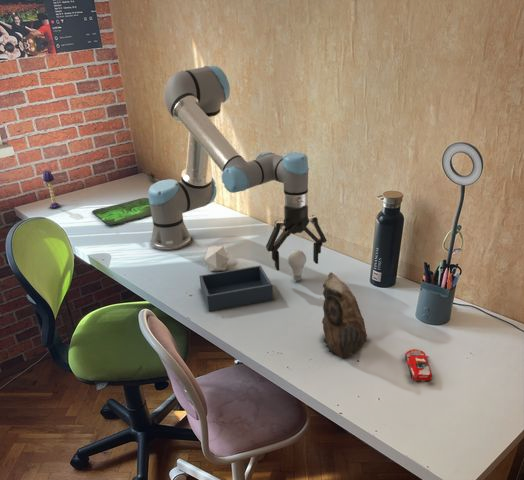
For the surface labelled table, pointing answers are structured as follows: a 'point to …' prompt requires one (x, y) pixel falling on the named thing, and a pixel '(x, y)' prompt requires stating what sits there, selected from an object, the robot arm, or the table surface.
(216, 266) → the die
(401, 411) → the table surface
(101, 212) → the mouse mat
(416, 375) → the race car
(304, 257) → the lightbulb
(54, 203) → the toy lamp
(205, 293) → the tote
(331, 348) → the owl
